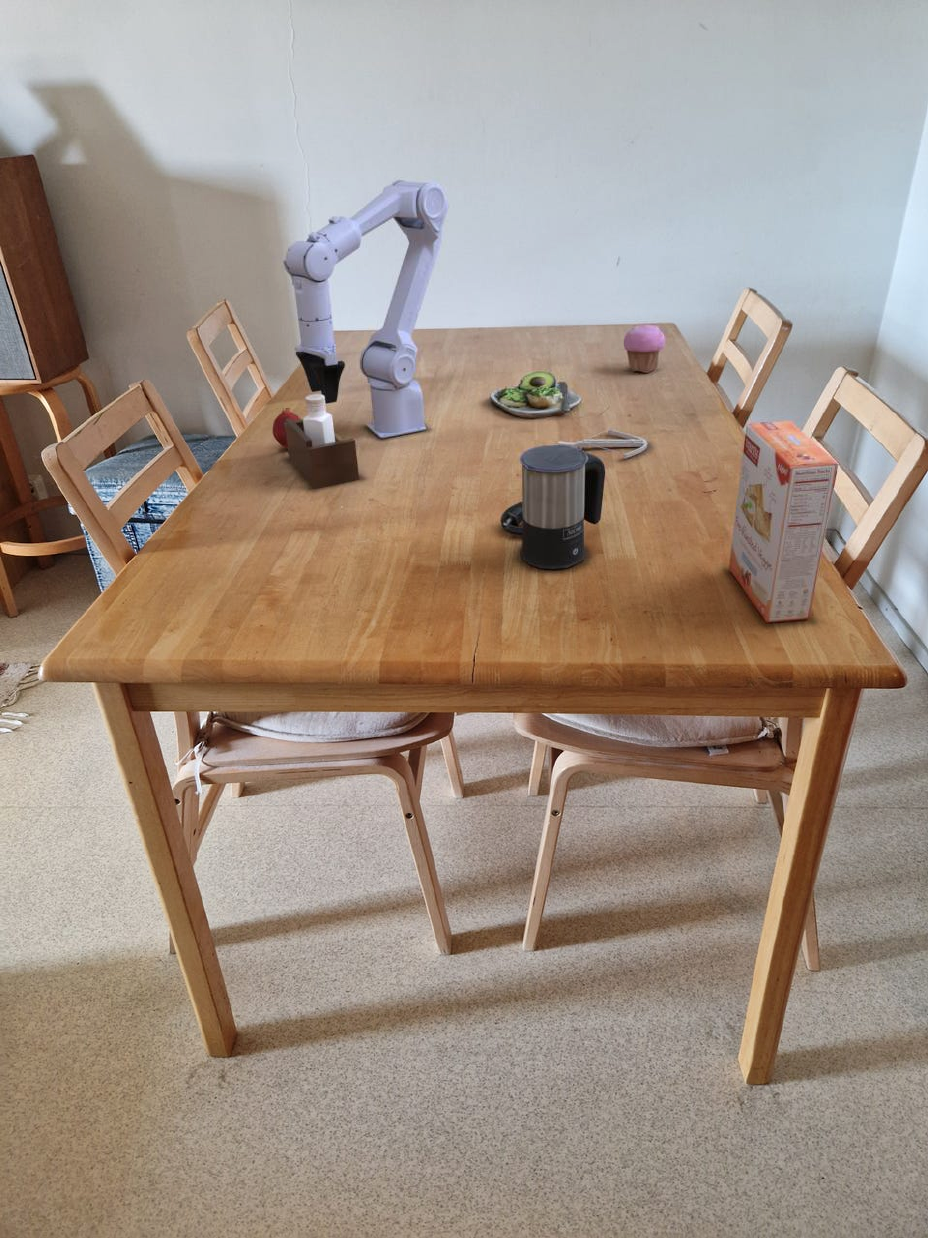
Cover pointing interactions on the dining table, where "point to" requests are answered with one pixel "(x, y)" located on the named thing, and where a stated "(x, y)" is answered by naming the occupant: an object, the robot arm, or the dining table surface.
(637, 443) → the crossbow
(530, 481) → the milk frother
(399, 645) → the dining table surface
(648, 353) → the cupcake
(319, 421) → the pepper shaker
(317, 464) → the box
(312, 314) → the robot arm
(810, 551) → the cracker box
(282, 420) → the onion
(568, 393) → the salad plate
